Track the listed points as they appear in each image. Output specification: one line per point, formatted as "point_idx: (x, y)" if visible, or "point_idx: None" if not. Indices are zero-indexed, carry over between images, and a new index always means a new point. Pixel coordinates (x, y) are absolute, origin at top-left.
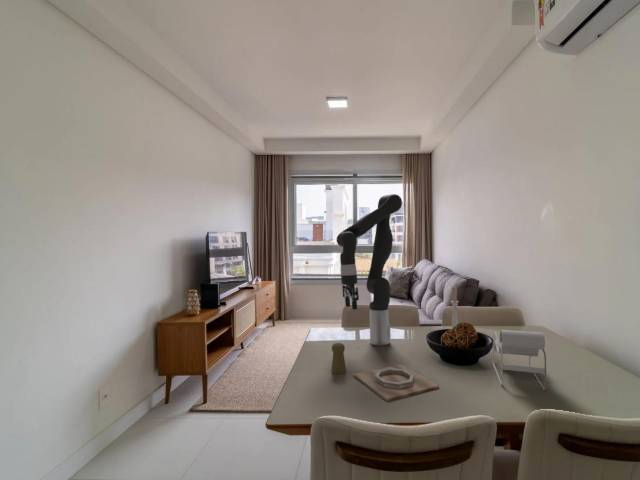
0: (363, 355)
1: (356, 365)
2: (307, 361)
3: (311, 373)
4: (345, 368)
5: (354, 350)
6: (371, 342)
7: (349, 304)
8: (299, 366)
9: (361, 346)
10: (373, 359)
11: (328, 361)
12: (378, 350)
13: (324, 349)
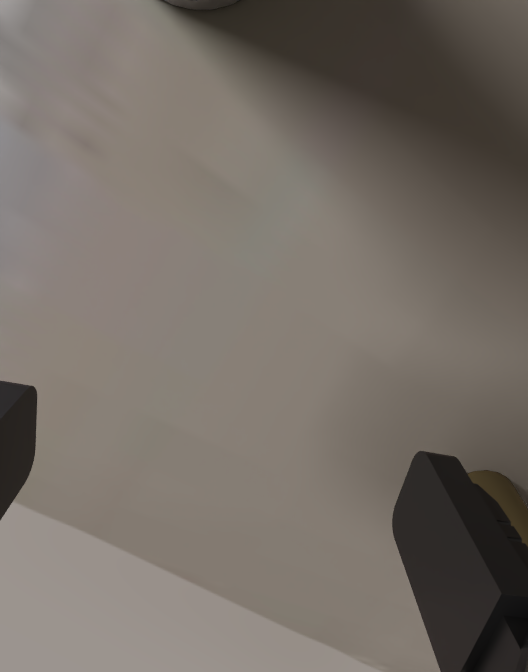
0: (376, 256)
1: (480, 391)
2: (262, 578)
3: (412, 610)
4: (516, 493)
5: (250, 253)
6: (188, 5)
7: (13, 418)
8: (302, 626)
9: (196, 142)
10: (480, 241)
11: (329, 492)
12: (361, 72)
13: (119, 426)
